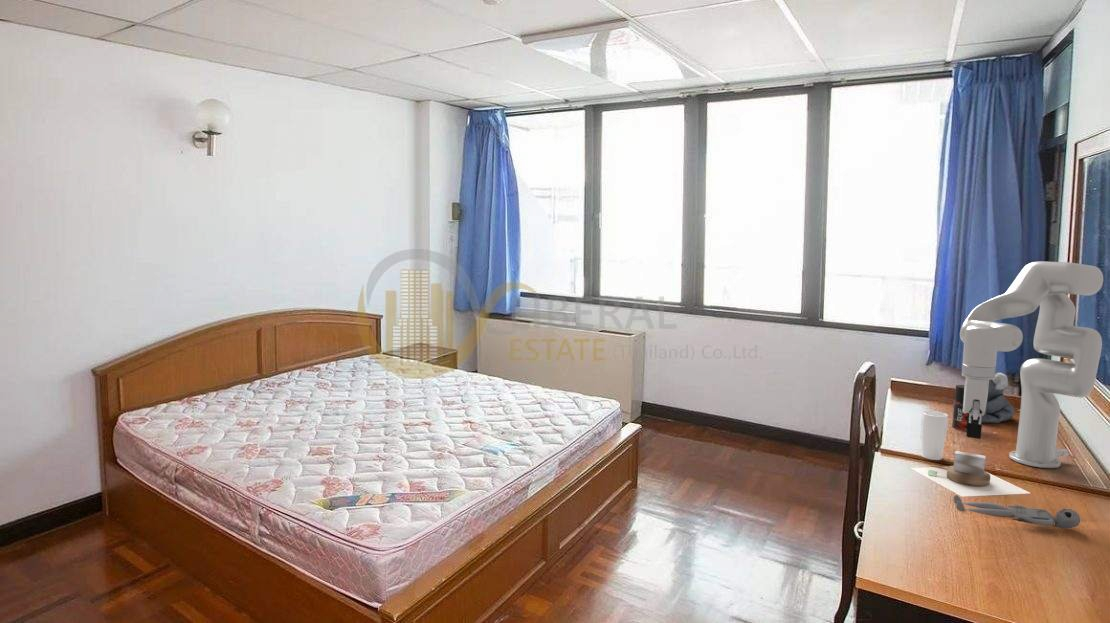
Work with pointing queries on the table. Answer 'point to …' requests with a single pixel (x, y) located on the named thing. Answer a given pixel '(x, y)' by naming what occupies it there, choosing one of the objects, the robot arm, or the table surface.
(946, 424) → the white cup
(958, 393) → the deodorant
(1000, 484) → the white square board
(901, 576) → the table surface
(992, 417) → the koala plush
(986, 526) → the table surface
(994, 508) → the alien figure
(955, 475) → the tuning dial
